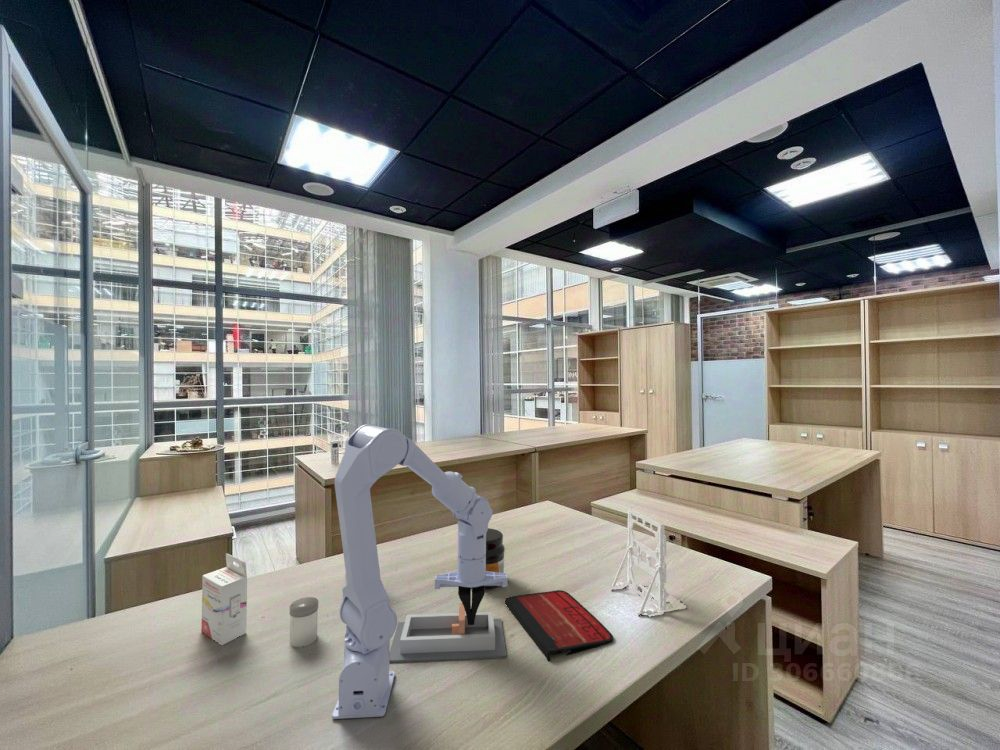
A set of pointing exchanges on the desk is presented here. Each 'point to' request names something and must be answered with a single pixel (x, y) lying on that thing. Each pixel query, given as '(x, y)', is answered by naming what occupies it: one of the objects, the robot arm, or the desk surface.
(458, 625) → the pusher
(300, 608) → the jar
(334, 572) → the desk surface
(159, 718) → the desk surface
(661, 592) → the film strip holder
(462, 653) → the base
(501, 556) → the supplement container
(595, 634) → the binder
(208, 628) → the ink cartridge box
